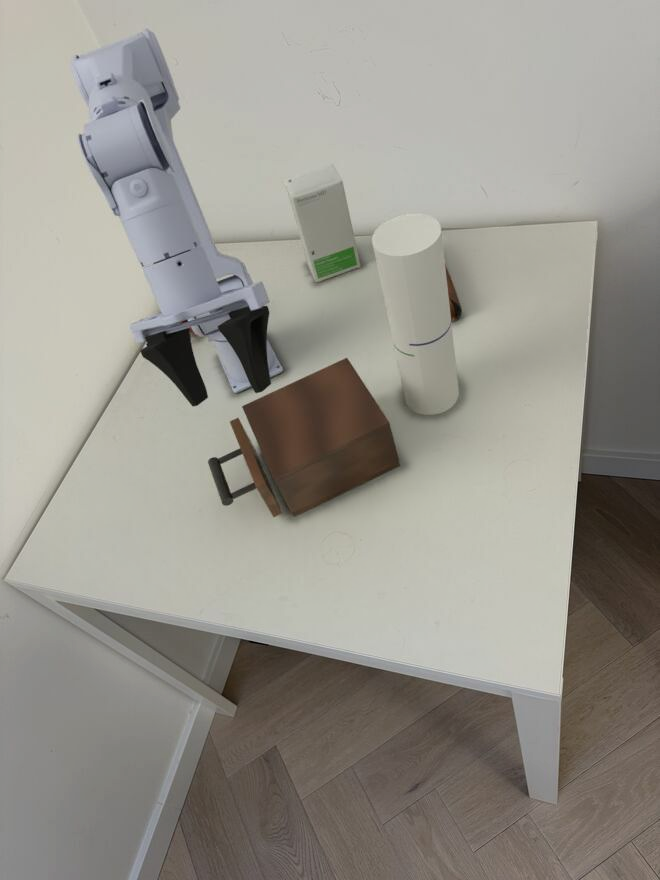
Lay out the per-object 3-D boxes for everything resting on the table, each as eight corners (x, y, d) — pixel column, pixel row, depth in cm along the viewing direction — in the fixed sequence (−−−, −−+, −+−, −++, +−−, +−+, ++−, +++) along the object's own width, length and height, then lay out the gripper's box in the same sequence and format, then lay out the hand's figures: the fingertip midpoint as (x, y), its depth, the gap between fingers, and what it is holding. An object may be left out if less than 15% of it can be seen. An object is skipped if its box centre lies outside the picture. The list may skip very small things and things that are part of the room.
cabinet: (293, 517, 77) (272, 477, 71) (263, 447, 85) (241, 406, 79) (400, 466, 78) (389, 422, 72) (360, 401, 86) (347, 357, 80)
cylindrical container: (456, 415, 81) (437, 253, 62) (401, 414, 83) (366, 258, 64) (460, 374, 85) (444, 210, 66) (408, 374, 87) (377, 216, 68)
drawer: (238, 534, 77) (218, 504, 71) (215, 468, 84) (194, 437, 79) (373, 469, 78) (362, 436, 73) (338, 410, 85) (326, 375, 80)
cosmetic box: (315, 284, 105) (289, 199, 93) (306, 262, 109) (280, 179, 97) (363, 266, 105) (343, 180, 93) (352, 245, 109) (331, 160, 97)
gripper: (85, 289, 56) (150, 424, 61) (212, 242, 49) (275, 399, 54) (134, 270, 62) (190, 395, 67) (254, 226, 55) (307, 369, 60)
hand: (231, 395), depth 61 cm, fingers open, 7 cm apart
